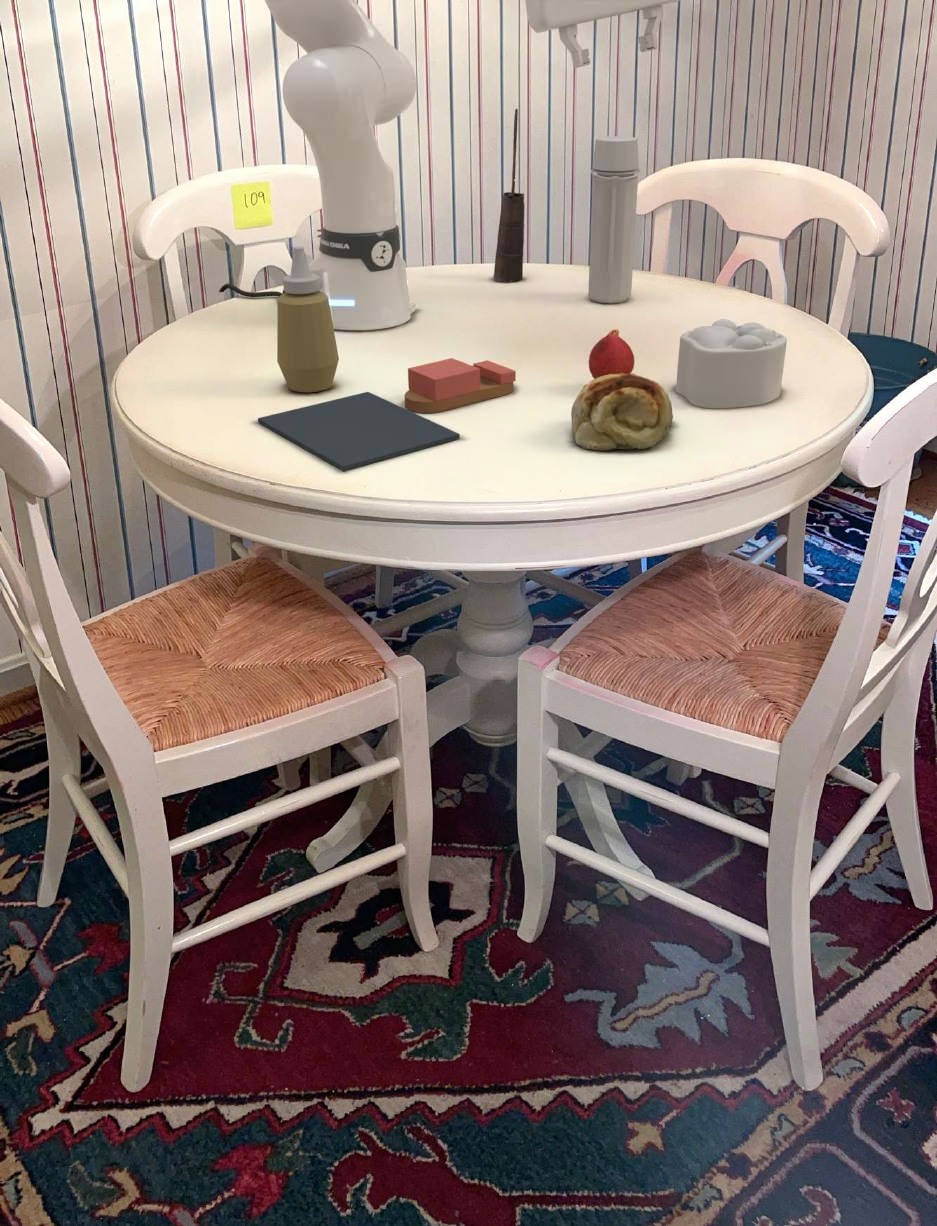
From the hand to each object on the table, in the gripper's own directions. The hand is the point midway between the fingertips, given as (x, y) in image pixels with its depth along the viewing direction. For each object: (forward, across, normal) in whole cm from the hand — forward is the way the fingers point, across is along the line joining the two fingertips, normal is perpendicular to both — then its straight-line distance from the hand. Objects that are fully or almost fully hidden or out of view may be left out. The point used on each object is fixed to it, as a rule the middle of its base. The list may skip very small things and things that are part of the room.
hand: (615, 58), depth 136 cm
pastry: (+40, +17, +19) cm, 47 cm away
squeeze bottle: (+30, +45, -13) cm, 56 cm away
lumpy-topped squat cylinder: (+42, -3, +12) cm, 43 cm away
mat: (+33, +45, +6) cm, 56 cm away
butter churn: (+32, -4, -56) cm, 65 cm away
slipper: (+35, +29, -1) cm, 45 cm away
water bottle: (+36, -13, -36) cm, 53 cm away
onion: (+38, +10, +4) cm, 40 cm away
